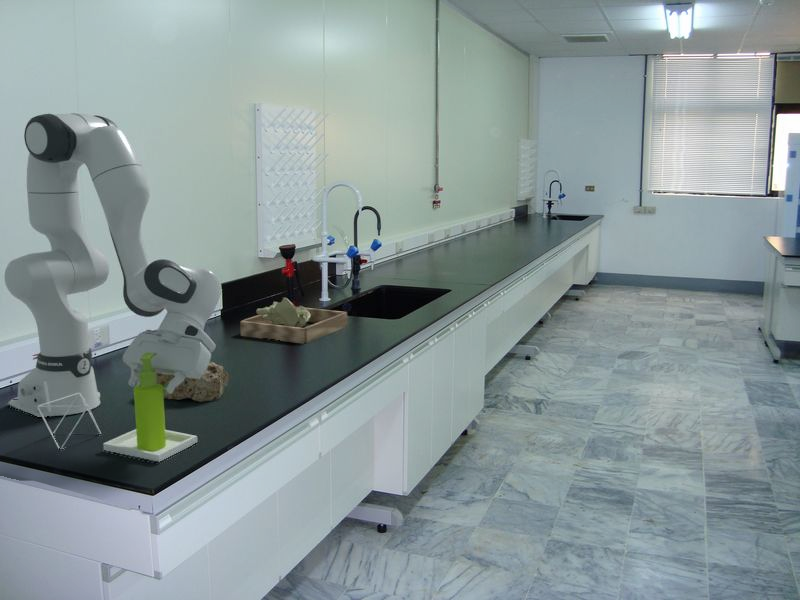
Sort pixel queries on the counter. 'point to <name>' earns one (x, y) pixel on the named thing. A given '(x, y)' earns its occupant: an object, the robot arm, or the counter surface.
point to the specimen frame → (323, 325)
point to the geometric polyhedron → (66, 413)
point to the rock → (198, 384)
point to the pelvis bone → (285, 314)
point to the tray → (129, 447)
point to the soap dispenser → (149, 408)
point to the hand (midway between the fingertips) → (149, 388)
